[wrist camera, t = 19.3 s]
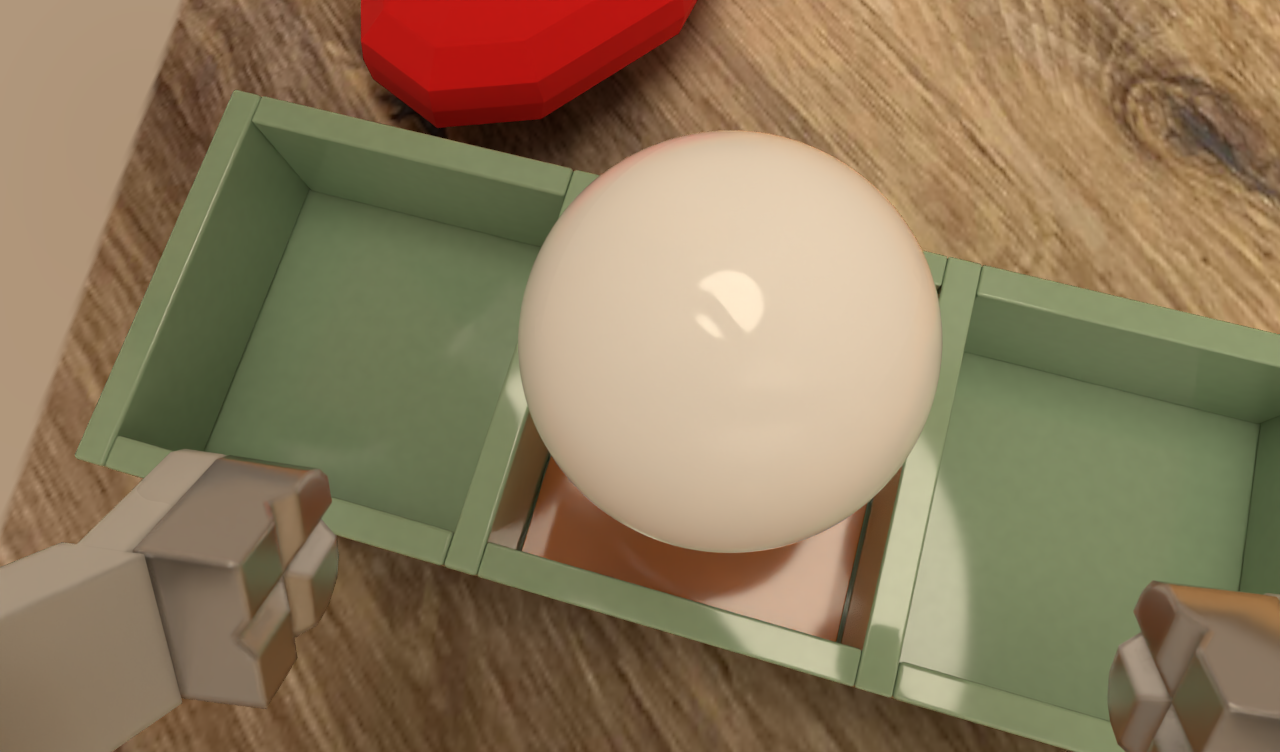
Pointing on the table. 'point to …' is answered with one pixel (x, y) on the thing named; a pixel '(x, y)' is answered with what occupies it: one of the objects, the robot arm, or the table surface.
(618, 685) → the table surface
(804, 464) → the lightbulb
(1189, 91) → the table surface
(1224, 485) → the green compartment box
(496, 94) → the heart
